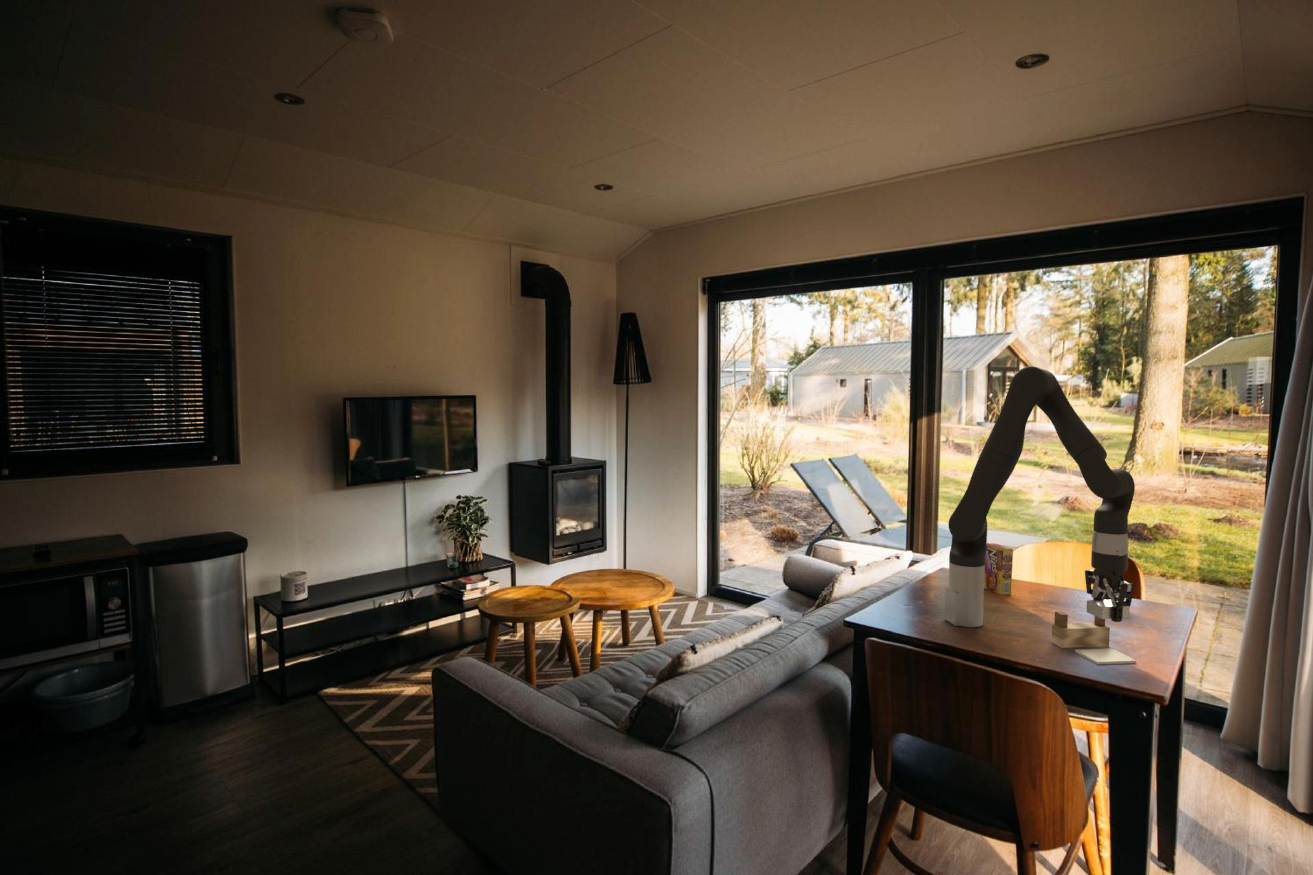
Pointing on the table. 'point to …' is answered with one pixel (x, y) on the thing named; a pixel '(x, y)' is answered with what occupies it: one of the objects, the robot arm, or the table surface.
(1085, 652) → the mat
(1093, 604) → the lever cap
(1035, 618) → the table surface
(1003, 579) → the candy box
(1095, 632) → the body
